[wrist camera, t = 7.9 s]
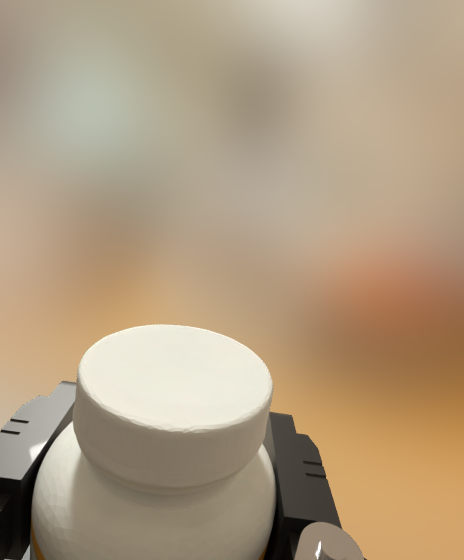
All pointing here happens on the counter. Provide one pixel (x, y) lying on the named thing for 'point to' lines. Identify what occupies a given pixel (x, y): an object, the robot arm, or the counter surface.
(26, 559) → the counter surface
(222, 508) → the supplement bottle
